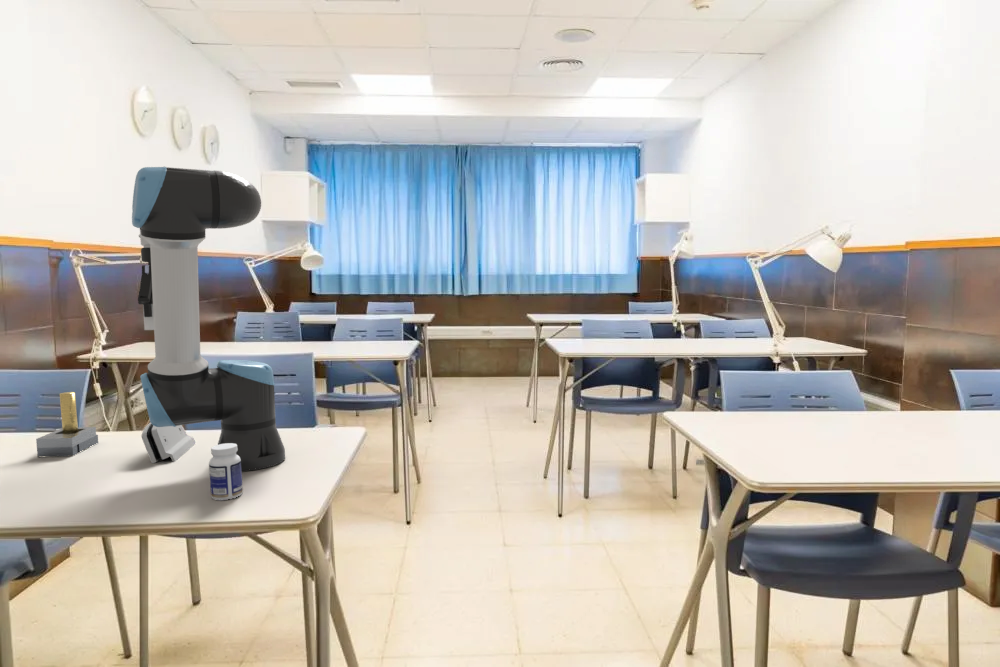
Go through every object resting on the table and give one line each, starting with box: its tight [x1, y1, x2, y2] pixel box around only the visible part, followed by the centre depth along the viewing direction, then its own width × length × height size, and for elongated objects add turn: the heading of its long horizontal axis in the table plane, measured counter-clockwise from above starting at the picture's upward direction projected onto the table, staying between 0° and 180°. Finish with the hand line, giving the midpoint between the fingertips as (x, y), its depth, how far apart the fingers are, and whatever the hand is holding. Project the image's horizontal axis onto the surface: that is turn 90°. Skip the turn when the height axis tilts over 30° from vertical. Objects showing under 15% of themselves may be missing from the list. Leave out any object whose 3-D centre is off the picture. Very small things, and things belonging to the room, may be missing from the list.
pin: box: [59, 391, 79, 434], centre depth 162 cm, size 3×3×14 cm
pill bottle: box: [208, 443, 244, 501], centre depth 127 cm, size 6×6×10 cm
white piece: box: [141, 421, 196, 464], centre depth 158 cm, size 17×5×10 cm, turn 9°
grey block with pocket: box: [35, 426, 99, 457], centre depth 162 cm, size 12×8×4 cm
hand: (161, 327), depth 174 cm, fingers open, 13 cm apart
